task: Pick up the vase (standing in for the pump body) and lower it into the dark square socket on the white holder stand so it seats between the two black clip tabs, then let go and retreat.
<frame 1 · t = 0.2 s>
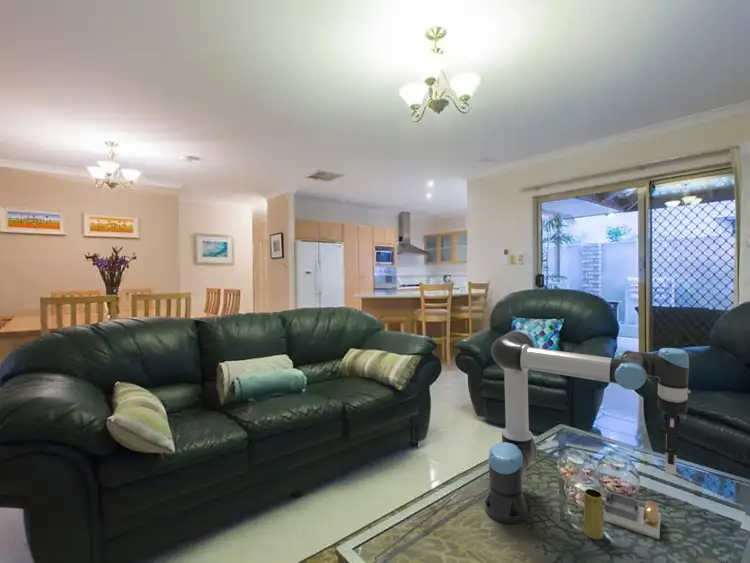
hand: (670, 463, 125), 27 cm above the table, fingers open, 13 cm apart
vase: (592, 533, 133), on the table
white holder stand: (631, 521, 138), on the table
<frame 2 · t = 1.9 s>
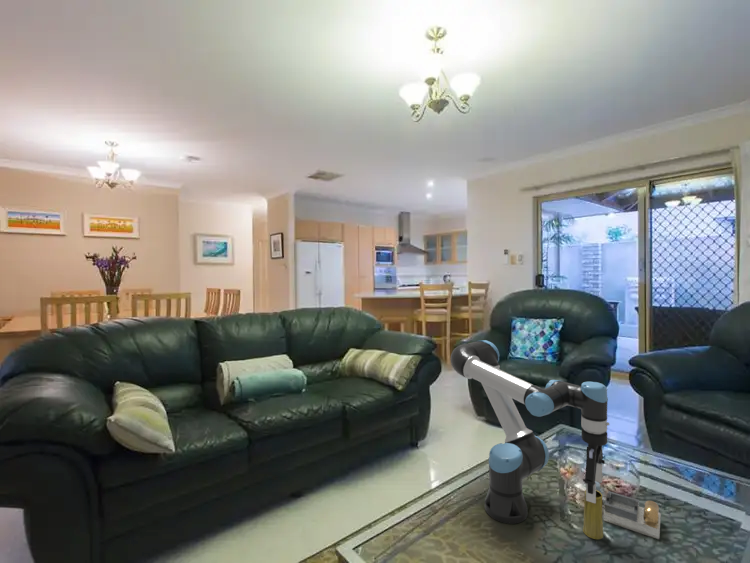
hand: (594, 491, 132), 15 cm above the table, fingers open, 13 cm apart
nothing on the table moved.
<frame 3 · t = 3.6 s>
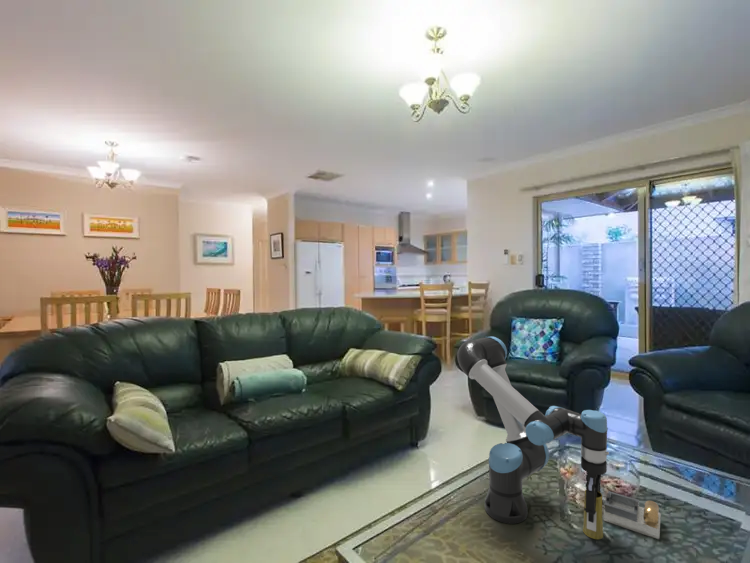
hand: (593, 523, 133), 3 cm above the table, fingers closed on vase, 6 cm apart
vase: (592, 533, 133), on the table, touching gripper
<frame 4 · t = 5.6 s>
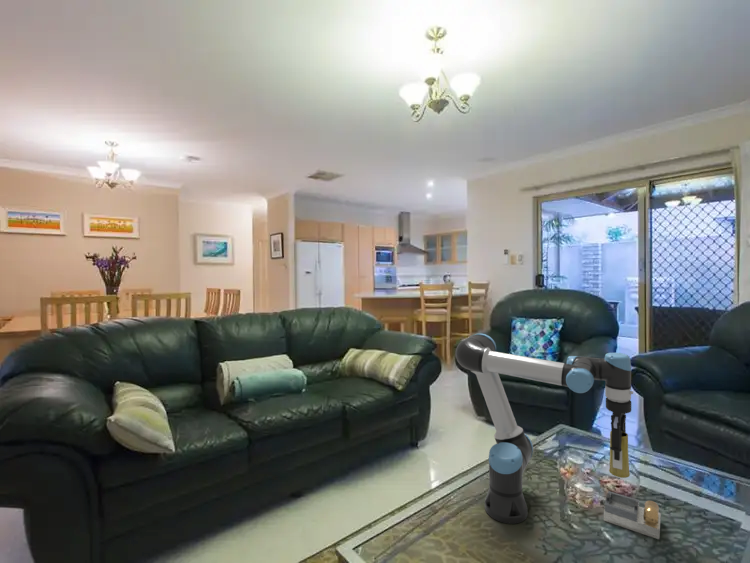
hand: (619, 463, 136), 22 cm above the table, fingers closed on vase, 6 cm apart
vase: (619, 473, 136), point 18 cm above the table, touching gripper
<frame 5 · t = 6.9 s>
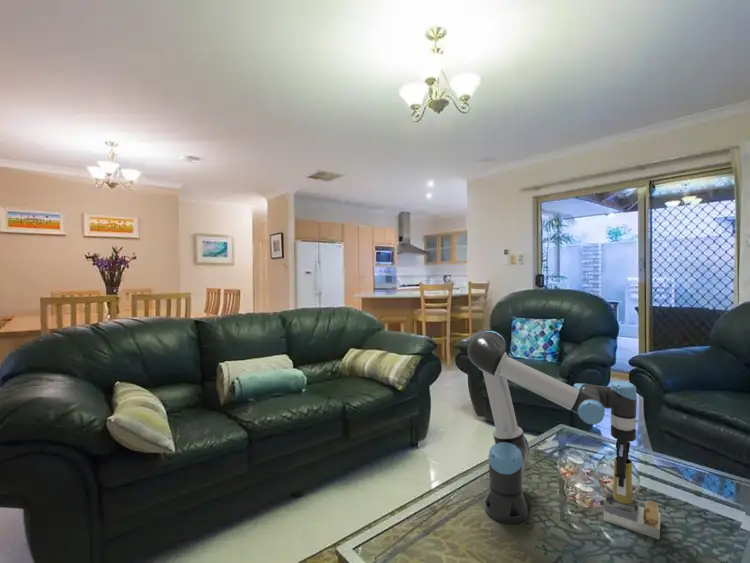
hand: (622, 489, 139), 11 cm above the table, fingers closed on vase, 6 cm apart
vase: (622, 499, 139), point 7 cm above the table, touching gripper
when the fingers open (8 cm above the table, at t = 7.6 s): vase drops 1 cm, resting on white holder stand.
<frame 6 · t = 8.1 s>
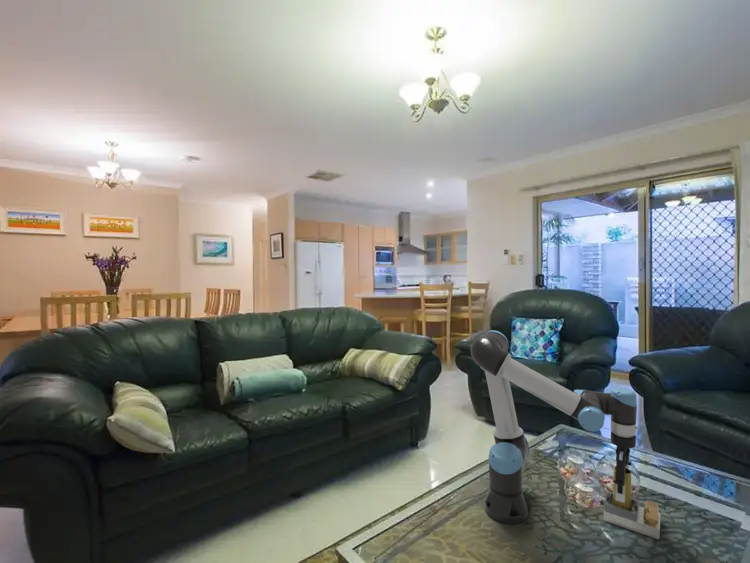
hand: (622, 491, 139), 10 cm above the table, fingers open, 12 cm apart
vase: (621, 509, 140), point 3 cm above the table, touching white holder stand
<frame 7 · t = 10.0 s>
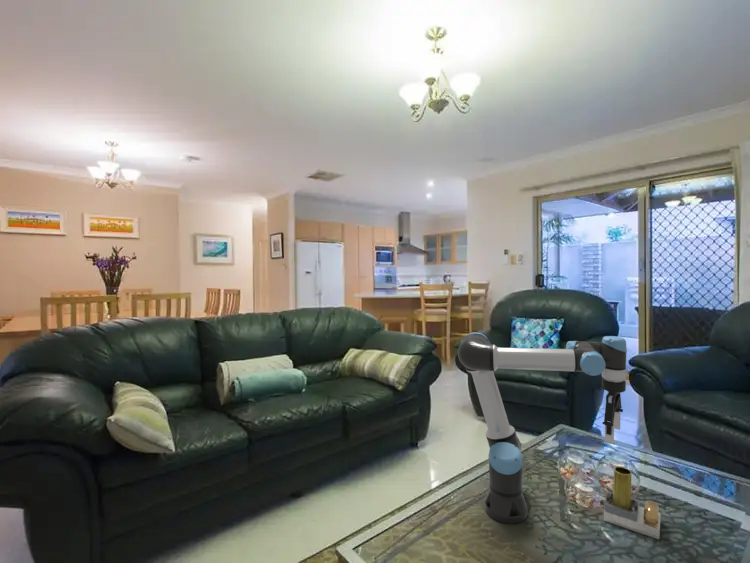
hand: (612, 435, 145), 27 cm above the table, fingers open, 13 cm apart
nothing on the table moved.
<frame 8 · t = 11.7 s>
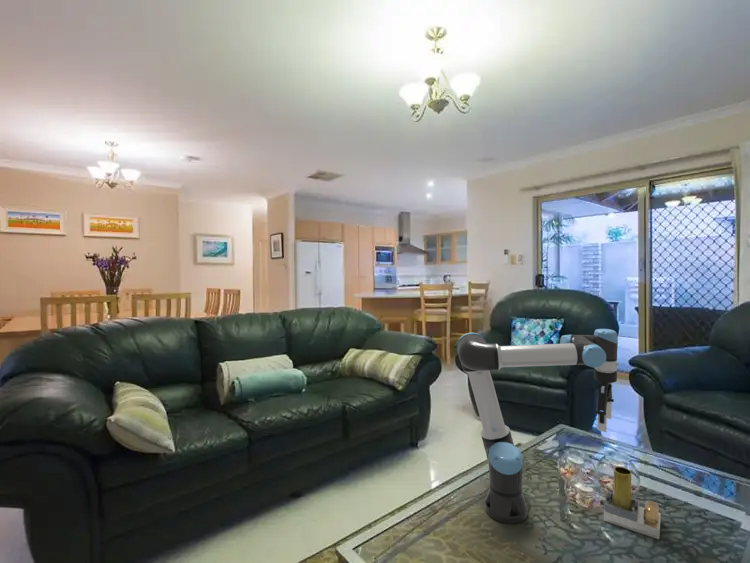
hand: (604, 424, 151), 29 cm above the table, fingers open, 13 cm apart
nothing on the table moved.
at the end: vase 0.0 cm from the target spot on the white holder stand, point 3.3 cm above the white holder stand's base; vase tilted 0°; the gripper is holding nothing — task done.
